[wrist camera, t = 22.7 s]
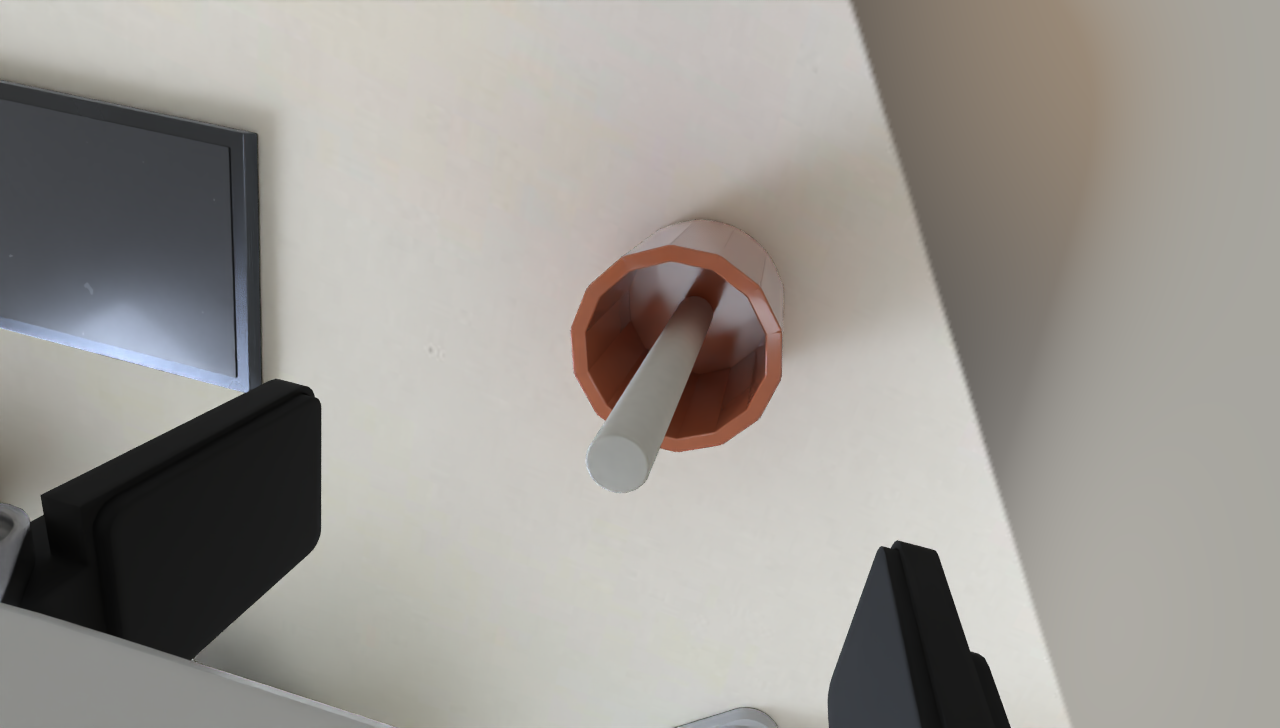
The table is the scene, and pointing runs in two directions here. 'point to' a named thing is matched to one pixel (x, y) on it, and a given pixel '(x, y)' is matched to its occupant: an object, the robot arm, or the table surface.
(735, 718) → the phone holder
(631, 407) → the stylus
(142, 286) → the tablet
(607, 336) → the pencil cup
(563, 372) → the table surface
